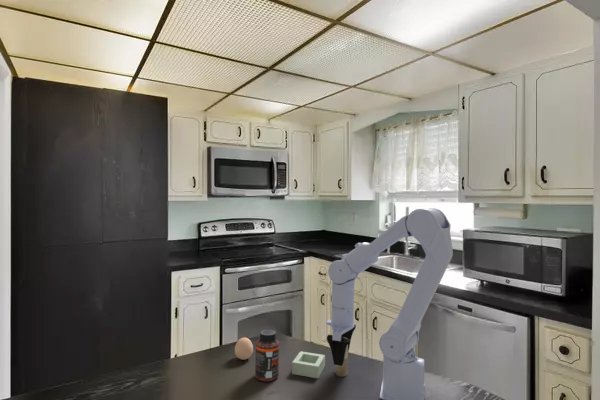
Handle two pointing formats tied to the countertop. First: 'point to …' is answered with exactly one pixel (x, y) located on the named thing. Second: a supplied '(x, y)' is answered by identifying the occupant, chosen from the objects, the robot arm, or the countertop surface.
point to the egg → (243, 348)
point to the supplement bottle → (267, 356)
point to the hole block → (308, 364)
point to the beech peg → (342, 369)
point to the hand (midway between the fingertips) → (341, 358)
